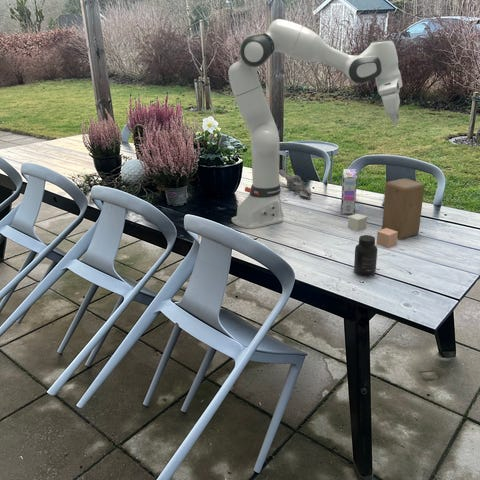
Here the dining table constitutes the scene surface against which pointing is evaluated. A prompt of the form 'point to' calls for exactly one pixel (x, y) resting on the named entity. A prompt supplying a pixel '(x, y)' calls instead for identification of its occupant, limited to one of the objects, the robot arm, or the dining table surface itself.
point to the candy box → (348, 191)
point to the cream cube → (357, 222)
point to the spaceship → (296, 184)
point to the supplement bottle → (365, 256)
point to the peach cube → (387, 237)
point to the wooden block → (403, 207)
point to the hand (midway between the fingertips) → (396, 121)
